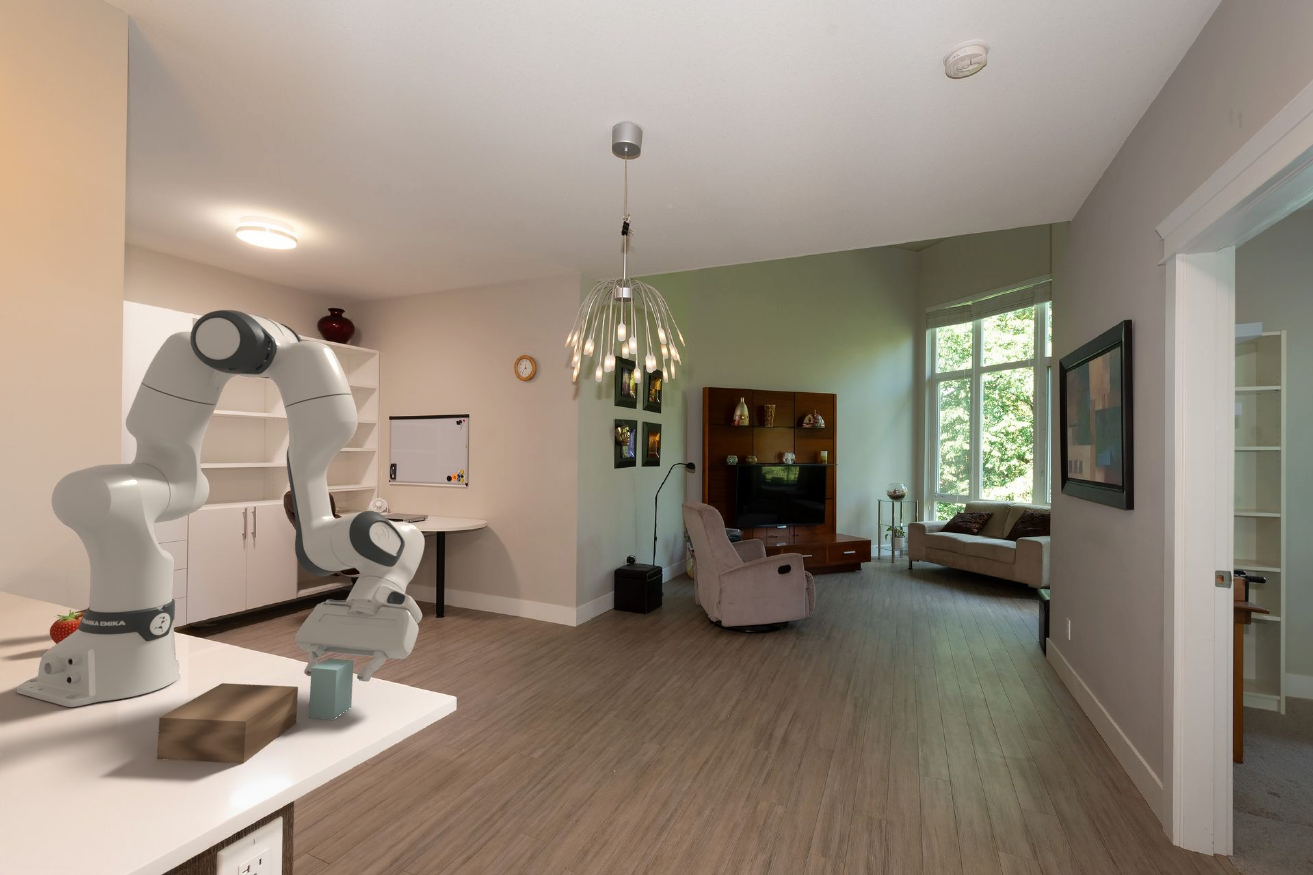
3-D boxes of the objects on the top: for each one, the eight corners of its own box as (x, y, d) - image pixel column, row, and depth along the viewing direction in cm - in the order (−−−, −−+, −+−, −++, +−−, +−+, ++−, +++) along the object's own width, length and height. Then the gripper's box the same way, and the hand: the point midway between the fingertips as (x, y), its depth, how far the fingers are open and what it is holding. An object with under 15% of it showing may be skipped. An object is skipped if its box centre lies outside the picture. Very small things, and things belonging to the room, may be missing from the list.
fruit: (67, 654, 118) (69, 613, 118) (41, 653, 118) (43, 612, 118) (93, 645, 123) (95, 606, 123) (68, 644, 123) (70, 605, 124)
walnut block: (156, 761, 83) (159, 717, 83) (220, 721, 95) (222, 683, 95) (243, 765, 83) (246, 721, 83) (296, 724, 95) (298, 686, 95)
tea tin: (308, 717, 97) (311, 667, 97) (326, 705, 101) (329, 658, 101) (334, 720, 96) (336, 670, 96) (351, 708, 101) (353, 660, 101)
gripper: (313, 589, 108) (269, 663, 99) (419, 597, 106) (385, 674, 96) (328, 608, 113) (287, 680, 103) (431, 616, 110) (399, 690, 101)
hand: (335, 677), depth 100 cm, fingers open, 8 cm apart
